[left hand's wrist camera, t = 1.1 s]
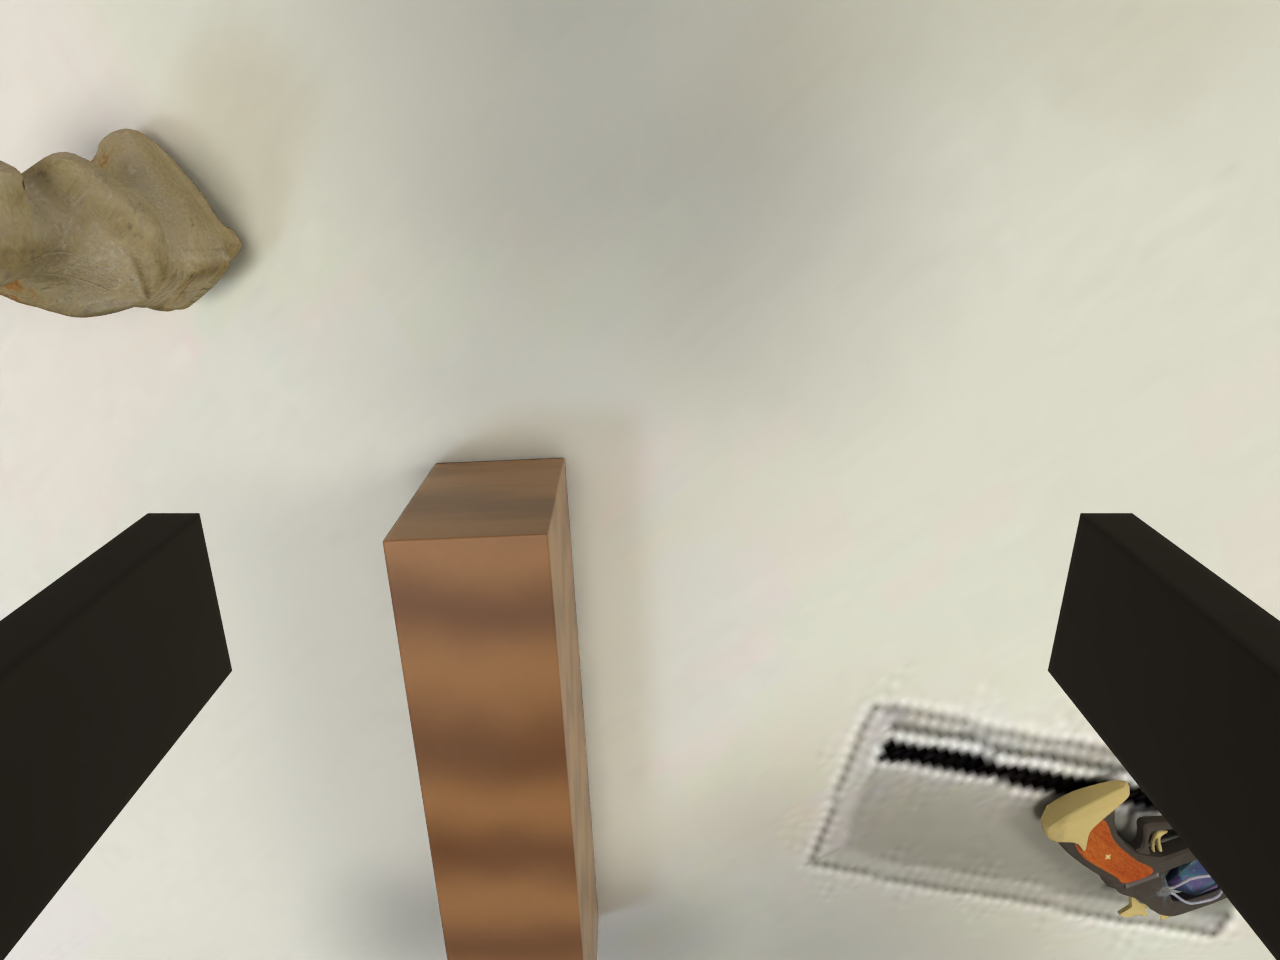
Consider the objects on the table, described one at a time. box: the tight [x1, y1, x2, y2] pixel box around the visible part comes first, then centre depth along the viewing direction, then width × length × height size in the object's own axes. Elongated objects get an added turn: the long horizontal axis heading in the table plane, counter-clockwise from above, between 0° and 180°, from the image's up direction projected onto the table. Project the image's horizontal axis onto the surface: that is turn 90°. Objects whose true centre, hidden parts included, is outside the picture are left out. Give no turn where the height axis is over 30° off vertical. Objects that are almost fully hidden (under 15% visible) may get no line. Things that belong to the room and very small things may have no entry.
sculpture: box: [0, 129, 242, 317], centre depth 31 cm, size 6×7×15 cm
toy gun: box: [1041, 780, 1227, 921], centre depth 49 cm, size 3×19×10 cm
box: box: [383, 458, 598, 960], centre depth 42 cm, size 30×6×10 cm, turn 2°
